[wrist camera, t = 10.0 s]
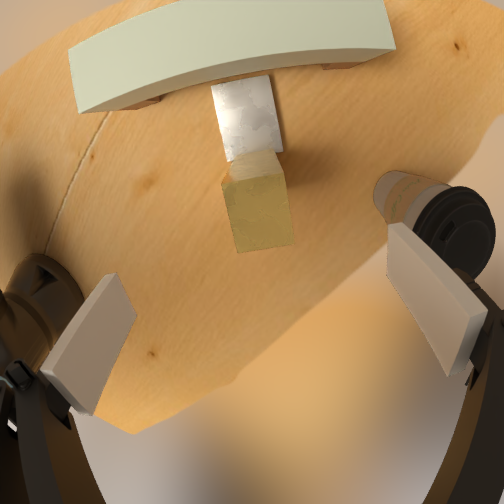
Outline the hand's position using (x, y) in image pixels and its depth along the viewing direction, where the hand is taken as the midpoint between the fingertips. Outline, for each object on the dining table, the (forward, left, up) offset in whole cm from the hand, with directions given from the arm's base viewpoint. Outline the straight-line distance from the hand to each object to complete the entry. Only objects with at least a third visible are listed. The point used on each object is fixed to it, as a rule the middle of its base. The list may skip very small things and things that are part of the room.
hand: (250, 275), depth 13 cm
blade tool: (0, +4, -21) cm, 21 cm away
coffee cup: (+16, -5, -21) cm, 27 cm away
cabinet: (0, +14, -21) cm, 25 cm away
